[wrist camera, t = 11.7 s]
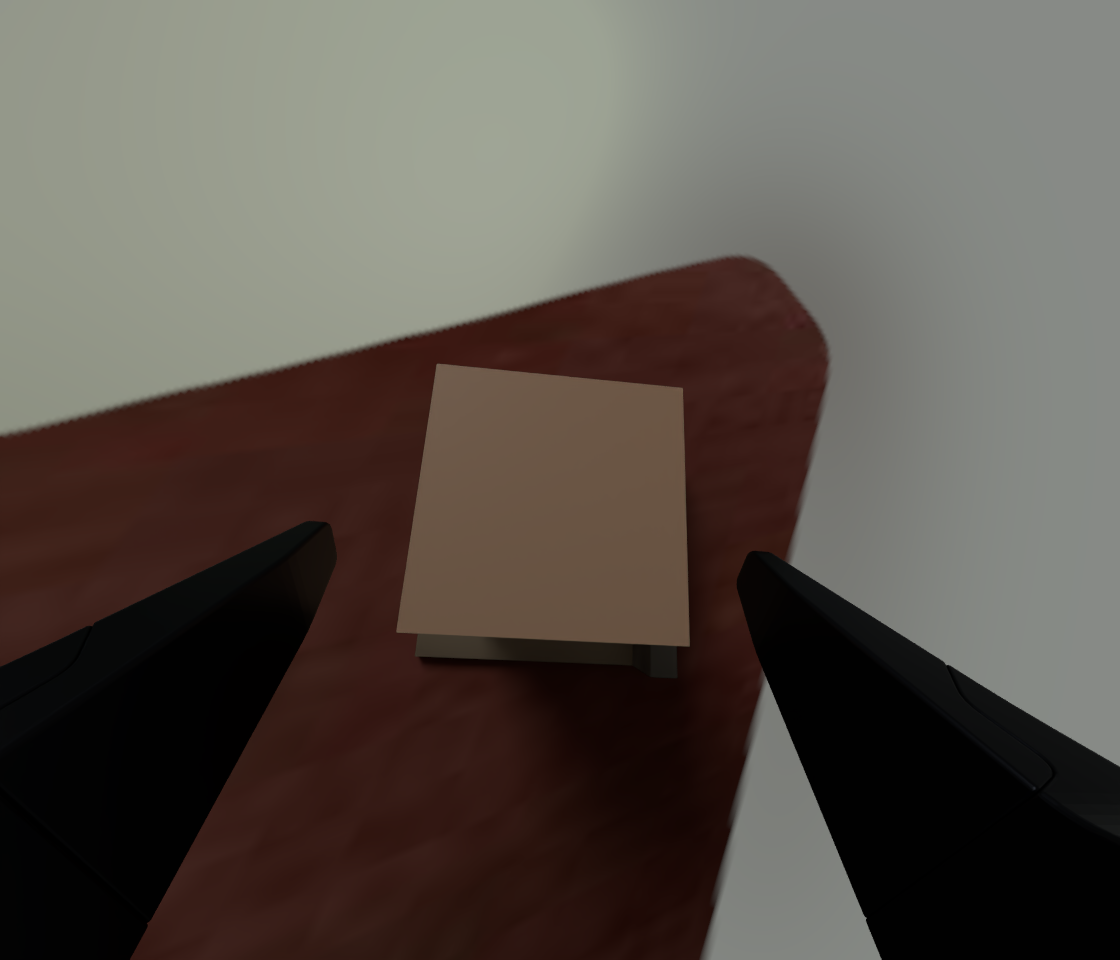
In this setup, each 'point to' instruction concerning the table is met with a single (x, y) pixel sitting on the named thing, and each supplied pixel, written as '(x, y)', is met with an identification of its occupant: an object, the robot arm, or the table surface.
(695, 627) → the table surface
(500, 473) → the tan block
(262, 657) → the robot arm
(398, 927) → the table surface
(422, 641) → the grey shallow square piece
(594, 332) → the table surface
